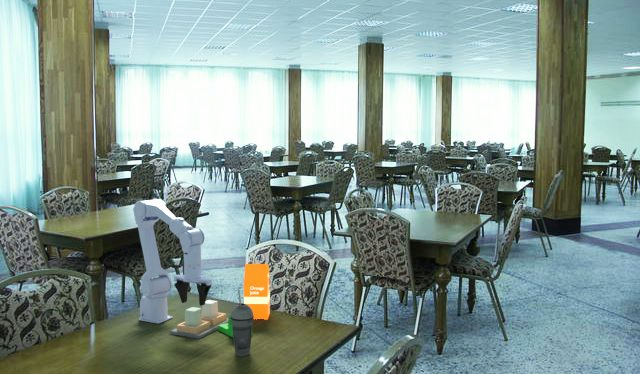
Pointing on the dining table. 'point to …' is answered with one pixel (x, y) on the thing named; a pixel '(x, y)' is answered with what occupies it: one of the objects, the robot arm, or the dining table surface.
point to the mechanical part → (227, 328)
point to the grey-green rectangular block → (210, 309)
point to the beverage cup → (242, 327)
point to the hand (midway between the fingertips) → (193, 303)
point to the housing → (200, 327)
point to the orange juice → (257, 289)
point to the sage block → (193, 316)
